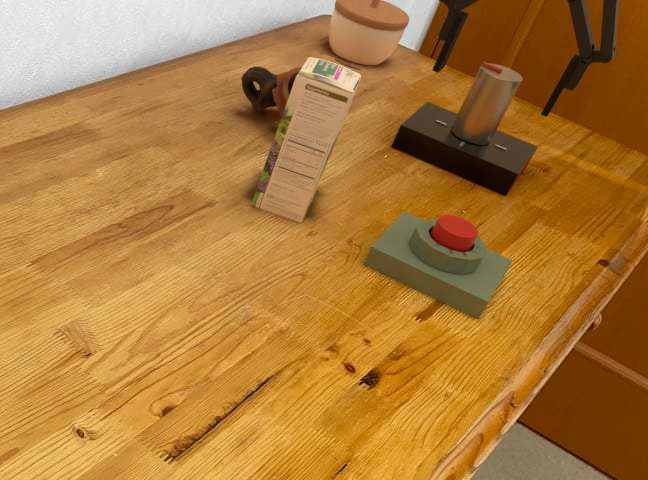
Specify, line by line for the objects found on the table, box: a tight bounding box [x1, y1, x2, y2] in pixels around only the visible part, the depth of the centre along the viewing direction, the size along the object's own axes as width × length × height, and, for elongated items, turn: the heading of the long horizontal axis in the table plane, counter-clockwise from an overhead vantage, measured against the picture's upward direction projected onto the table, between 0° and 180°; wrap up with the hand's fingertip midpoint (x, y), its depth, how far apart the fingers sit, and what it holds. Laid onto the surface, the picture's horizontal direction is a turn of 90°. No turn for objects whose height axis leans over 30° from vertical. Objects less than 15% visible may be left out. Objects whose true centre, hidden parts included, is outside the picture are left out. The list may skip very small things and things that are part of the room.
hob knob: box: [451, 61, 523, 145], centre depth 103 cm, size 5×5×8 cm
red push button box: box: [363, 210, 514, 320], centre depth 84 cm, size 12×10×4 cm
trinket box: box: [328, 0, 410, 71], centre depth 123 cm, size 11×11×9 cm
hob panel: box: [391, 101, 539, 197], centre depth 107 cm, size 15×11×3 cm
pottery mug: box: [241, 66, 303, 136], centre depth 103 cm, size 12×10×8 cm
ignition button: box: [430, 214, 479, 252], centre depth 83 cm, size 4×4×2 cm
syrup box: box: [250, 56, 363, 224], centre depth 85 cm, size 6×6×14 cm
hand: (490, 90), depth 102 cm, fingers open, 13 cm apart
